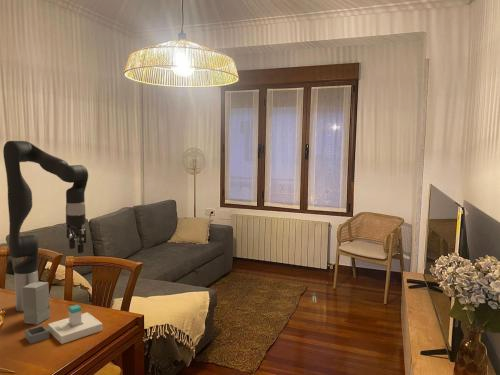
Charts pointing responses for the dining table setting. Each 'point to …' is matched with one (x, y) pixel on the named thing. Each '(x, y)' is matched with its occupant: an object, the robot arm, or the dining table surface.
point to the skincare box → (36, 302)
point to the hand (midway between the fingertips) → (76, 250)
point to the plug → (74, 316)
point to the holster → (37, 334)
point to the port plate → (74, 328)
